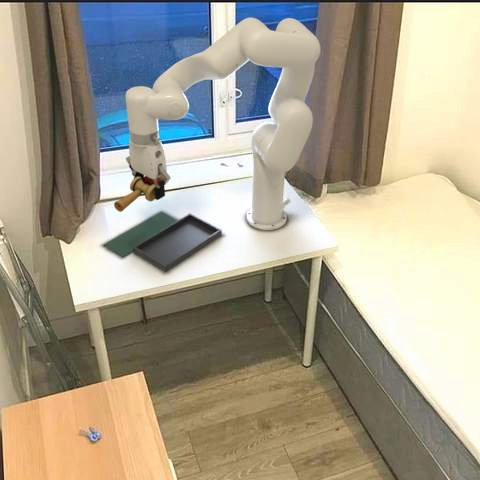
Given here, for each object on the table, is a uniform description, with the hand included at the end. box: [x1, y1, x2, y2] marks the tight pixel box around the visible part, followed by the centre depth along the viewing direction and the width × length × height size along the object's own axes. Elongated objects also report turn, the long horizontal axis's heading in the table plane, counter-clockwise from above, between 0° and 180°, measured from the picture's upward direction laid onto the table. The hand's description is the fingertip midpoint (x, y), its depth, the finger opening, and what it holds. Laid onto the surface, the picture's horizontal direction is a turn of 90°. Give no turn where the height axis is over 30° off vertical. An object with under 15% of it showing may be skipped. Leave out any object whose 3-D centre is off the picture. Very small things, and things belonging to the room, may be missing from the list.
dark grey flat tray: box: [132, 212, 223, 273], centre depth 176 cm, size 23×13×2 cm, turn 142°
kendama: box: [113, 175, 160, 213], centre depth 165 cm, size 8×6×18 cm
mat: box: [103, 211, 179, 258], centre depth 180 cm, size 23×8×1 cm, turn 142°
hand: (150, 192), depth 169 cm, fingers closed on kendama, 7 cm apart
